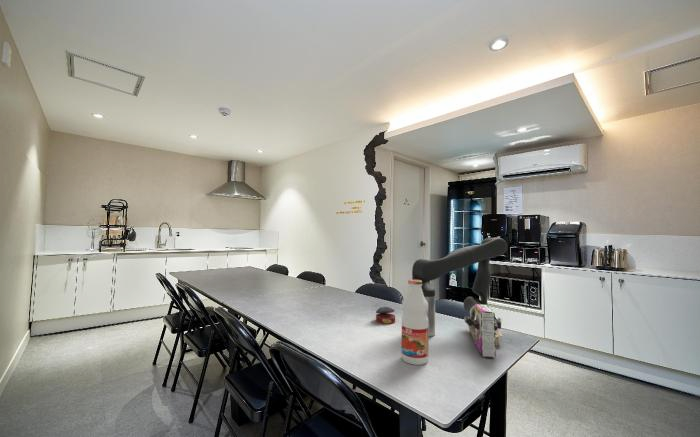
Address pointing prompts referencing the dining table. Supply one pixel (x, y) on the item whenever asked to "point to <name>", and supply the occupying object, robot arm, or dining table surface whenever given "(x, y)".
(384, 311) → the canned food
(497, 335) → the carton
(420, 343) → the fruit juice
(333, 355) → the dining table surface
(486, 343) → the candy bar box
